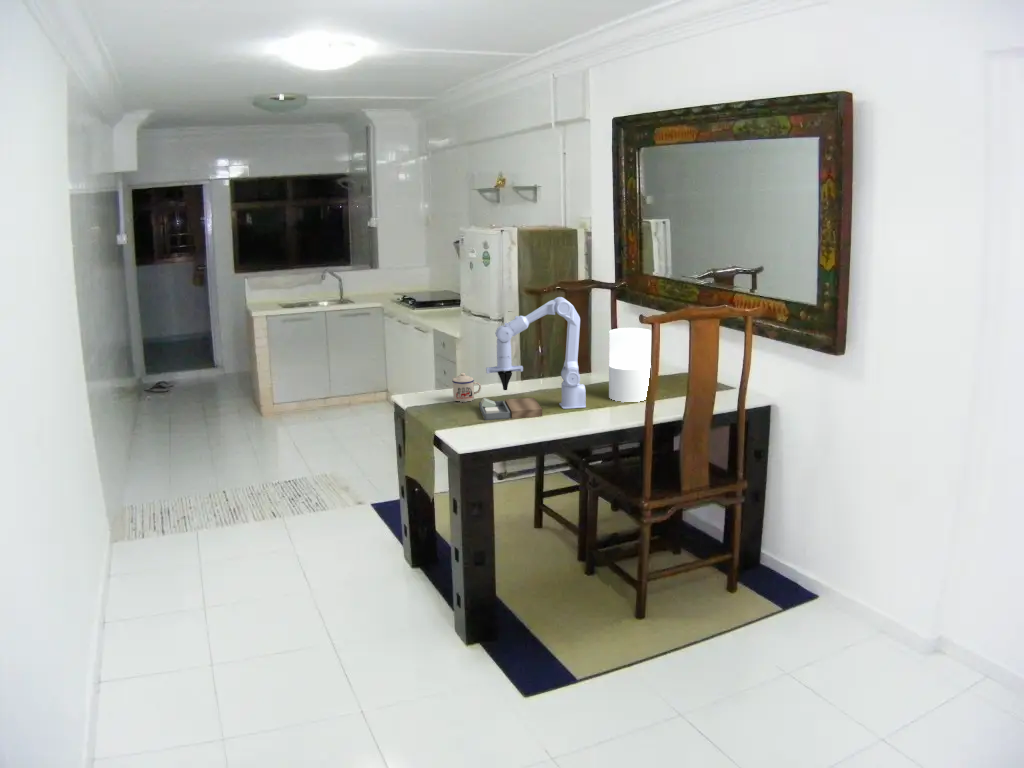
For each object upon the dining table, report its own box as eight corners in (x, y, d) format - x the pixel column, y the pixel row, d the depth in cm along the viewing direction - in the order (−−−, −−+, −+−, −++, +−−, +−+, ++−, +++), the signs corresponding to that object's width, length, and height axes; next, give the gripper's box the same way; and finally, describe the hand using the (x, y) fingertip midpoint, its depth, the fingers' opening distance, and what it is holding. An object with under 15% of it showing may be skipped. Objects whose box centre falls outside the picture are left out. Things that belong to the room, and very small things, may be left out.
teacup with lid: (454, 403, 349) (453, 376, 346) (451, 398, 358) (450, 371, 355) (483, 401, 351) (482, 374, 348) (479, 396, 360) (478, 369, 357)
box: (503, 406, 343) (503, 400, 342) (510, 418, 325) (510, 412, 325) (479, 408, 341) (479, 402, 341) (484, 420, 324) (484, 414, 323)
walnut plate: (534, 404, 344) (534, 397, 344) (542, 416, 327) (542, 409, 326) (505, 406, 343) (504, 399, 342) (511, 418, 325) (511, 411, 325)
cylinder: (605, 393, 360) (605, 328, 354) (645, 391, 361) (646, 327, 355) (612, 403, 344) (613, 336, 337) (654, 402, 345) (655, 334, 338)
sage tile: (483, 397, 339) (481, 402, 339) (484, 400, 334) (482, 405, 334) (494, 401, 340) (492, 407, 340) (495, 404, 335) (493, 410, 335)
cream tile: (484, 407, 330) (484, 413, 331) (486, 411, 325) (486, 417, 326) (497, 407, 331) (497, 413, 332) (498, 410, 326) (499, 416, 327)
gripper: (487, 359, 328) (488, 393, 331) (524, 357, 330) (524, 390, 333) (485, 355, 335) (486, 388, 338) (521, 353, 337) (521, 386, 340)
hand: (505, 389), depth 336 cm, fingers closed
